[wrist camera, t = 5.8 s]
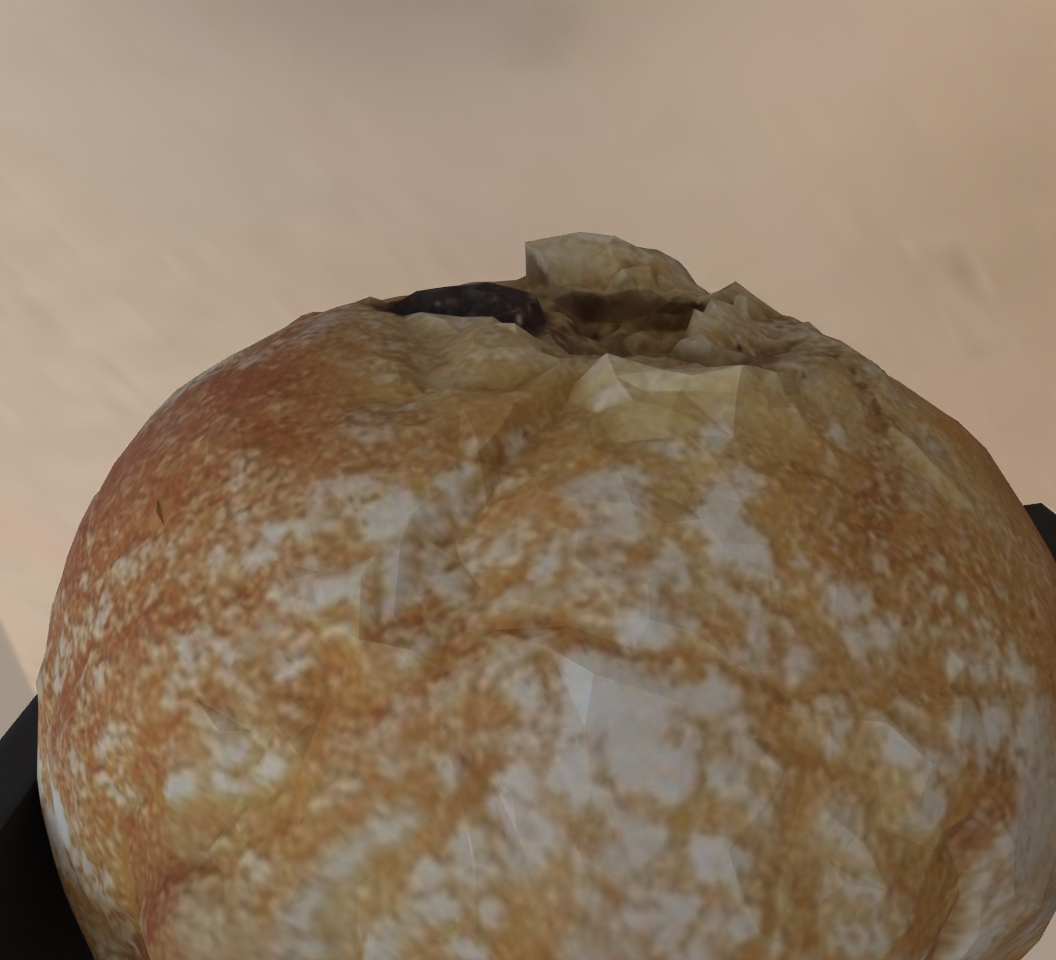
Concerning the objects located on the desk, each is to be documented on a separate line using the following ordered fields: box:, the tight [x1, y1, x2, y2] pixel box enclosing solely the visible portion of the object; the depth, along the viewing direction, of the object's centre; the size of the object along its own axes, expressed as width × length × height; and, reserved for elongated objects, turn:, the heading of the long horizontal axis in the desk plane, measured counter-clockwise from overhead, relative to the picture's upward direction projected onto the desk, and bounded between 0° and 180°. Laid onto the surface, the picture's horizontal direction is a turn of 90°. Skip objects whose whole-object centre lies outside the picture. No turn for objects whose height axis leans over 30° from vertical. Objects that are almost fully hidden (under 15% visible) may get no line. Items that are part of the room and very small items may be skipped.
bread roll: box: [36, 232, 1056, 960], centre depth 10 cm, size 10×10×8 cm
